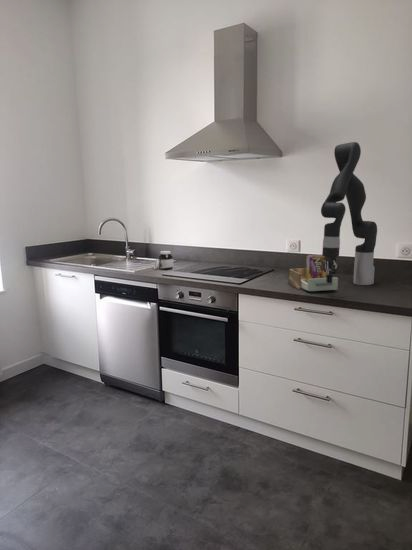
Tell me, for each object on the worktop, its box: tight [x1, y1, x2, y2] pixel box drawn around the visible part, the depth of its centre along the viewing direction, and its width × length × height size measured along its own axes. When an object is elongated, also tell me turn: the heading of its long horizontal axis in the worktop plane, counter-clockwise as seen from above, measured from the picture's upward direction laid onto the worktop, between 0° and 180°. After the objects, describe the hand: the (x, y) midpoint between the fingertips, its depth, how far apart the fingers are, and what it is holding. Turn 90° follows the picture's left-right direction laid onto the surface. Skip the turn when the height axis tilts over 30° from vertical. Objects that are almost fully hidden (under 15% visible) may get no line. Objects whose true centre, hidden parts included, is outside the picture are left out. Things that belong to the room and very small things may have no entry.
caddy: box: [288, 267, 327, 290], centre depth 216 cm, size 18×14×8 cm
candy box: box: [305, 254, 326, 283], centre depth 208 cm, size 9×4×15 cm, turn 98°
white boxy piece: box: [301, 276, 339, 292], centre depth 206 cm, size 15×15×6 cm
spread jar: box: [153, 250, 174, 271], centre depth 268 cm, size 12×11×12 cm
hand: (329, 282), depth 194 cm, fingers closed
